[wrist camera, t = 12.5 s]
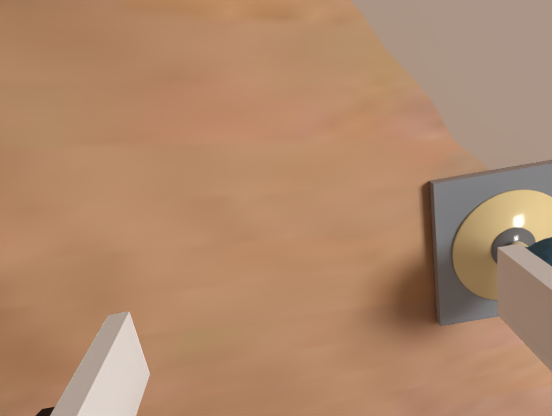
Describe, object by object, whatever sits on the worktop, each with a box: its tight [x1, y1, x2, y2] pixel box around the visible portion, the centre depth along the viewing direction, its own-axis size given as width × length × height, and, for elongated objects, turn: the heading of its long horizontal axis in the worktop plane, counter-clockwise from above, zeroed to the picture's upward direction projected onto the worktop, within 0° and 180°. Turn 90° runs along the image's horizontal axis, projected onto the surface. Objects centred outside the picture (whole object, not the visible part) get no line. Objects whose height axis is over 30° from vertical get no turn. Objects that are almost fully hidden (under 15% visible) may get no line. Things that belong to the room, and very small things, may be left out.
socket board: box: [430, 160, 552, 326], centre depth 44 cm, size 16×15×2 cm
